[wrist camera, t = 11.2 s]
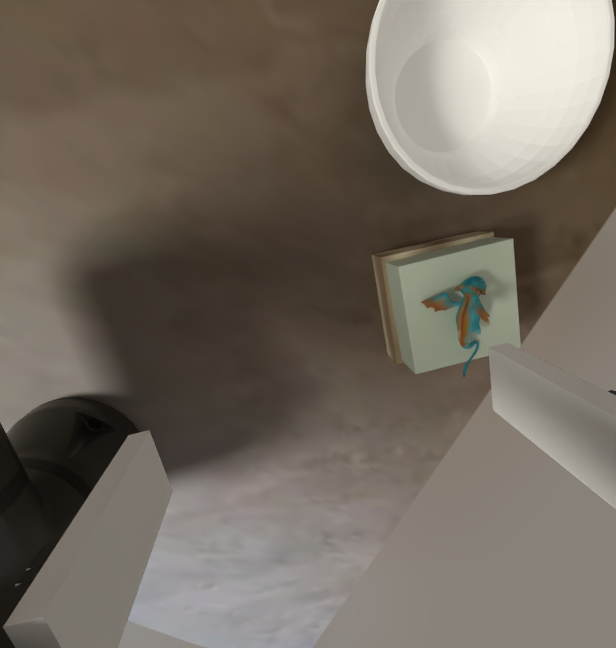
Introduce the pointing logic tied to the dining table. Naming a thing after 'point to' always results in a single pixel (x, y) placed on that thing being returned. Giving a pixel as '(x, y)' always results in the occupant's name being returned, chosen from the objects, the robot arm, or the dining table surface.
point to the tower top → (443, 276)
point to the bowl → (486, 86)
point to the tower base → (384, 287)
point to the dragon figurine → (465, 310)
